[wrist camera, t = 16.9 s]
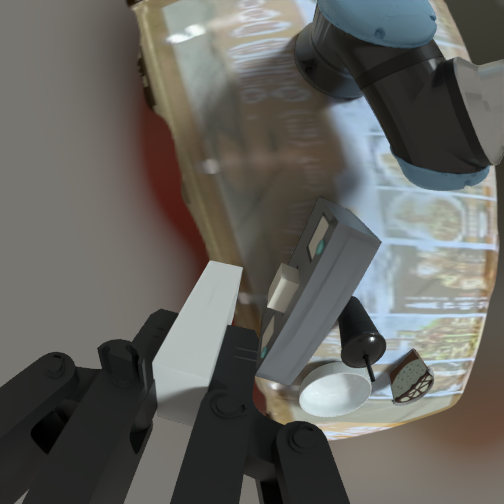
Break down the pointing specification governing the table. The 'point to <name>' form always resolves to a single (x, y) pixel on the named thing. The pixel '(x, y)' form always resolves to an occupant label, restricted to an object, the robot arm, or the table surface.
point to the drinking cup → (359, 337)
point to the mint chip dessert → (410, 379)
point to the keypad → (316, 291)
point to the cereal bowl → (334, 390)
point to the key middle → (283, 288)
